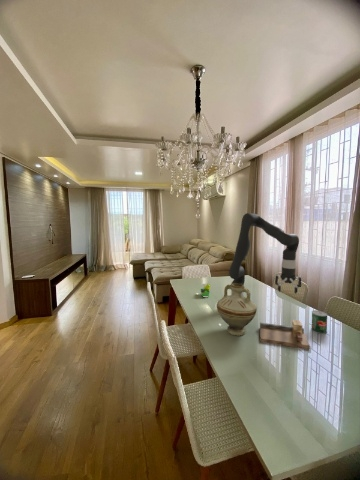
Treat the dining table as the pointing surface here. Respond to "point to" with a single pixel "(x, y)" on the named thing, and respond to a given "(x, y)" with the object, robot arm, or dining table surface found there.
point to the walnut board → (281, 336)
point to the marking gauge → (297, 329)
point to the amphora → (236, 309)
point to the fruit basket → (205, 290)
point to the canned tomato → (319, 321)
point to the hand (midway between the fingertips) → (287, 292)
